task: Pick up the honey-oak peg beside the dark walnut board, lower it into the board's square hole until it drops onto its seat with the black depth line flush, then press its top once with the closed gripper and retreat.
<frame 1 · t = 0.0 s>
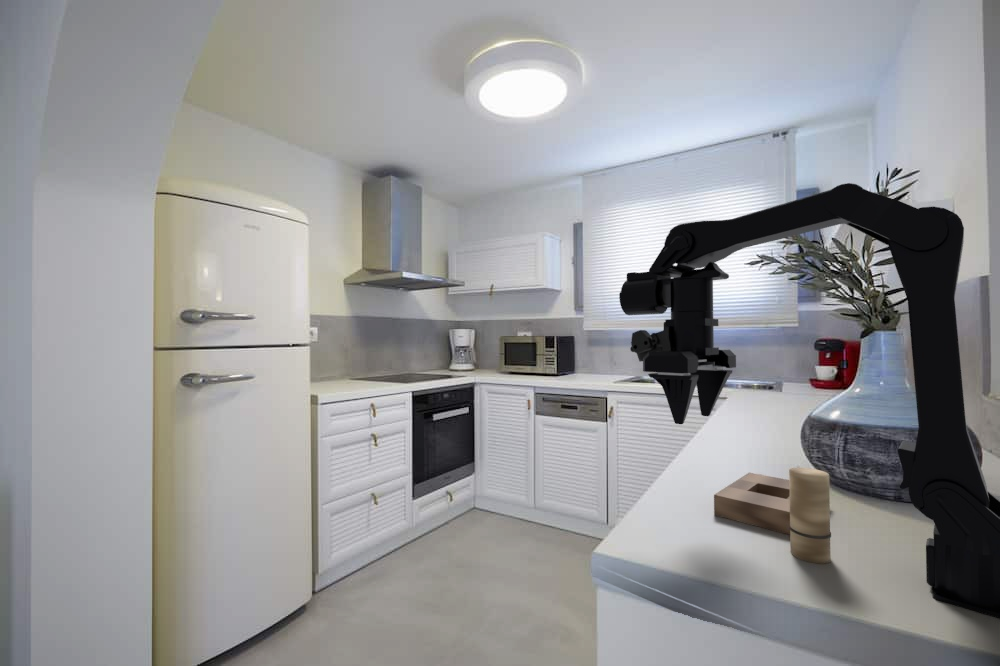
hand: (692, 419, 66), 14 cm above the counter, fingers open, 9 cm apart
oak peg: (810, 555, 55), on the counter
walnut board: (771, 510, 69), on the counter
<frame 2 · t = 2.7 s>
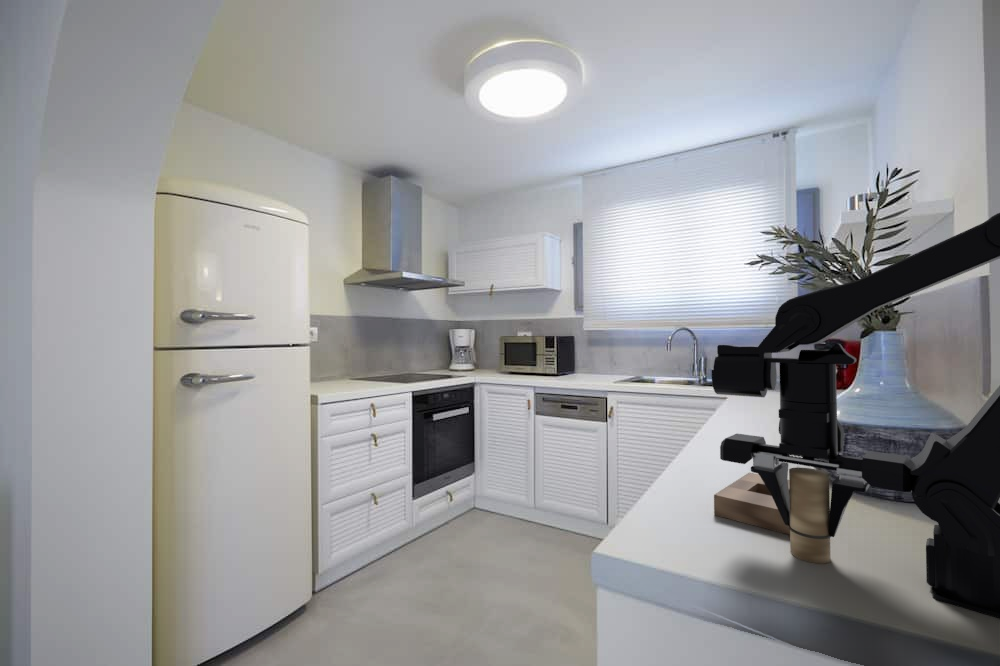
hand: (809, 530, 55), 3 cm above the counter, fingers closed on oak peg, 4 cm apart
oak peg: (810, 555, 55), on the counter, touching gripper
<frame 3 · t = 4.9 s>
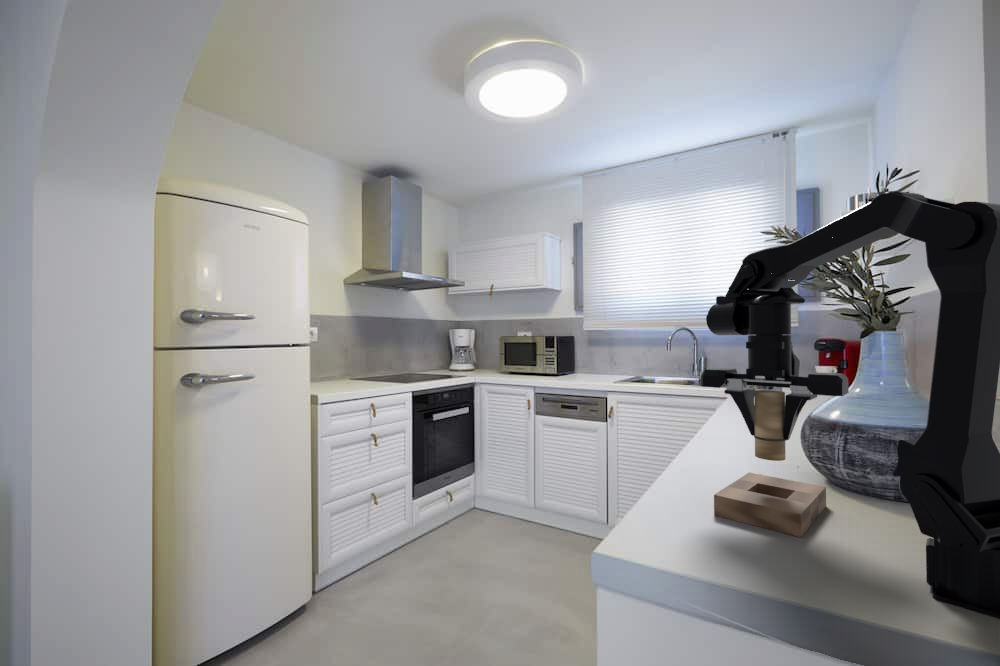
hand: (770, 437, 69), 11 cm above the counter, fingers closed on oak peg, 4 cm apart
oak peg: (770, 457, 69), point 8 cm above the counter, touching gripper
when the fingers open (4 cm above the counter, at t = 7.4 s): oak peg drops 1 cm, resting in walnut board.
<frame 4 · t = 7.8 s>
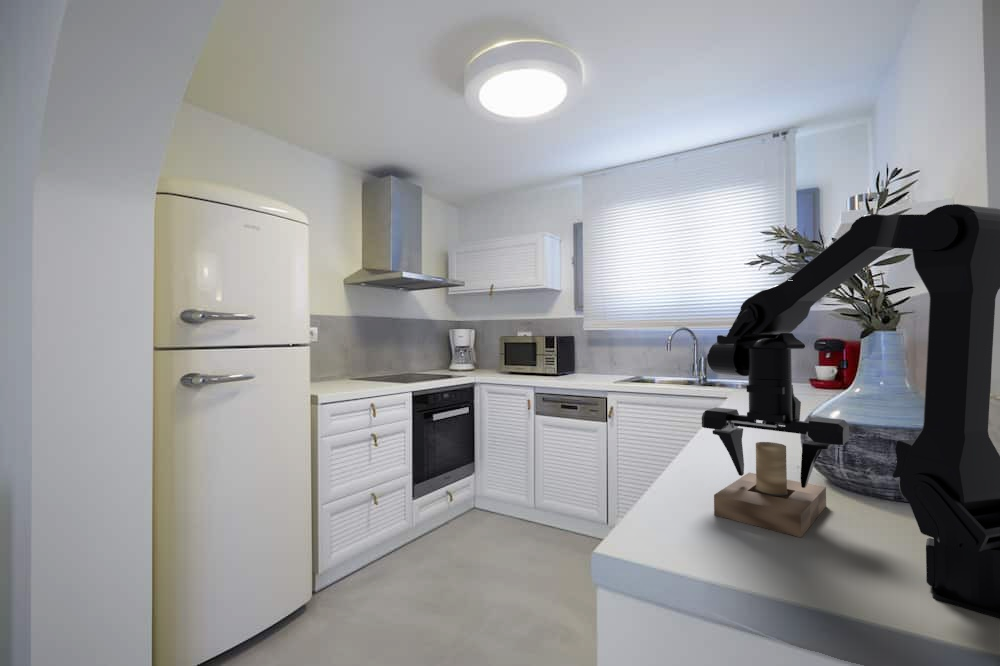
hand: (771, 480, 69), 4 cm above the counter, fingers open, 8 cm apart
oak peg: (771, 510, 69), resting in walnut board
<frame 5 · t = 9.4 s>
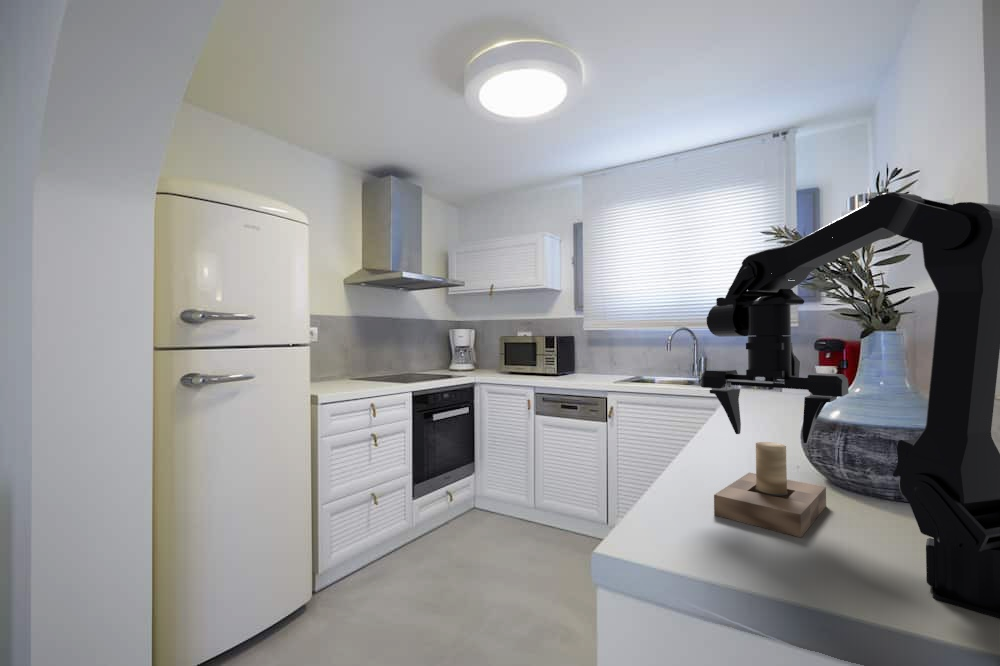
hand: (770, 438, 69), 11 cm above the counter, fingers open, 9 cm apart
nothing on the counter moved.
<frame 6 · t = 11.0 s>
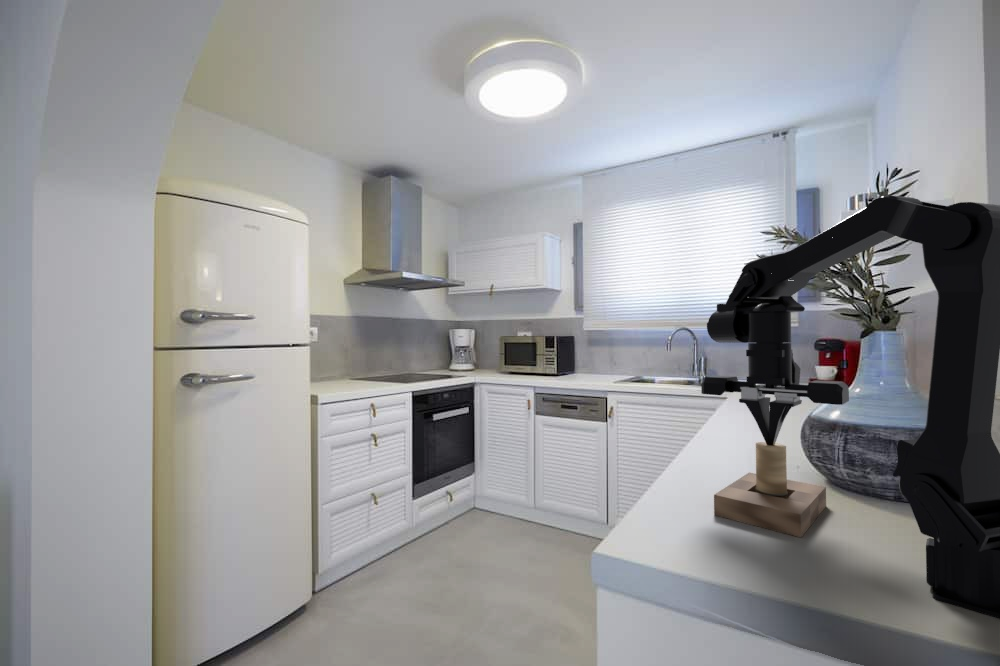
hand: (770, 445, 69), 10 cm above the counter, fingers closed, pressing on oak peg
oak peg: (771, 510, 69), resting in walnut board, touching gripper
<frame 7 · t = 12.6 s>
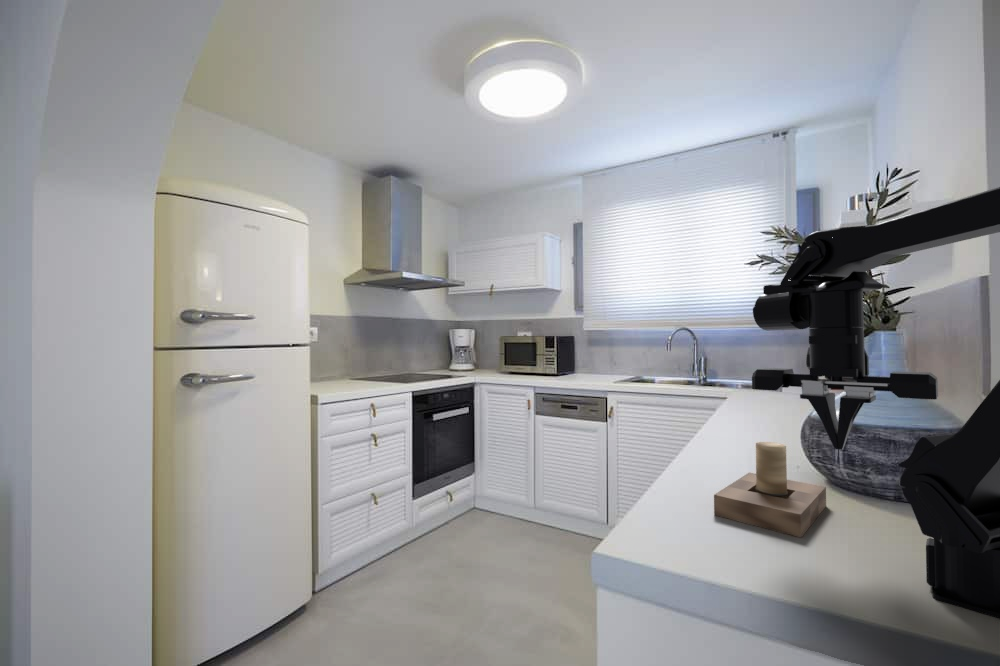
hand: (839, 449, 59), 12 cm above the counter, fingers closed
oak peg: (771, 510, 69), resting in walnut board
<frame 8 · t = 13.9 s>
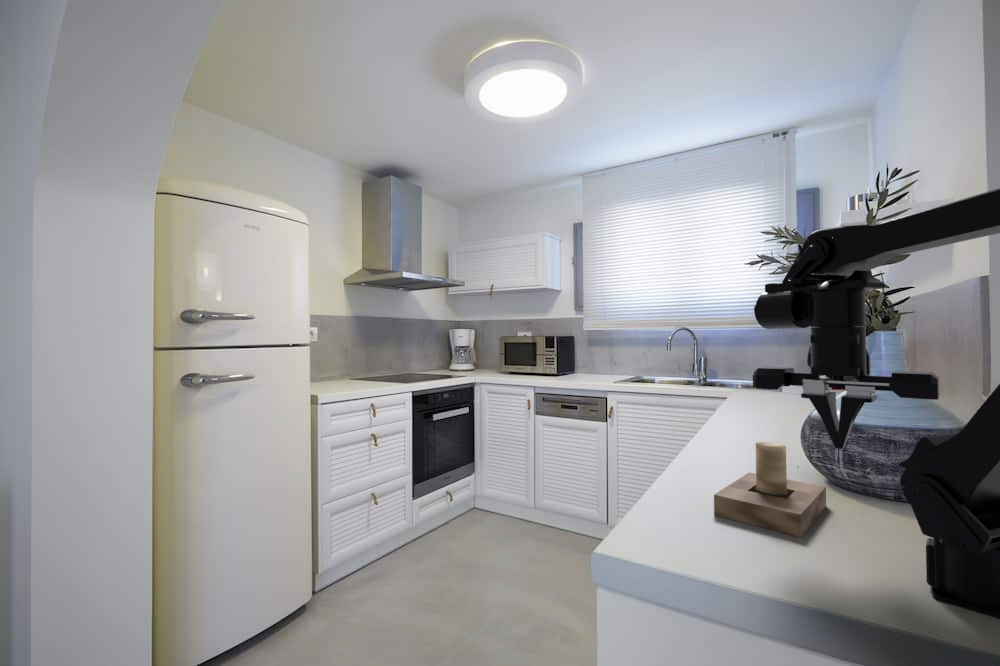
hand: (839, 448, 59), 12 cm above the counter, fingers closed
nothing on the counter moved.
at the end: oak peg 0.1 cm off-centre on the walnut board, point 0.0 cm above the walnut board's base; oak peg tilted 0°; the gripper is holding nothing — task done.
